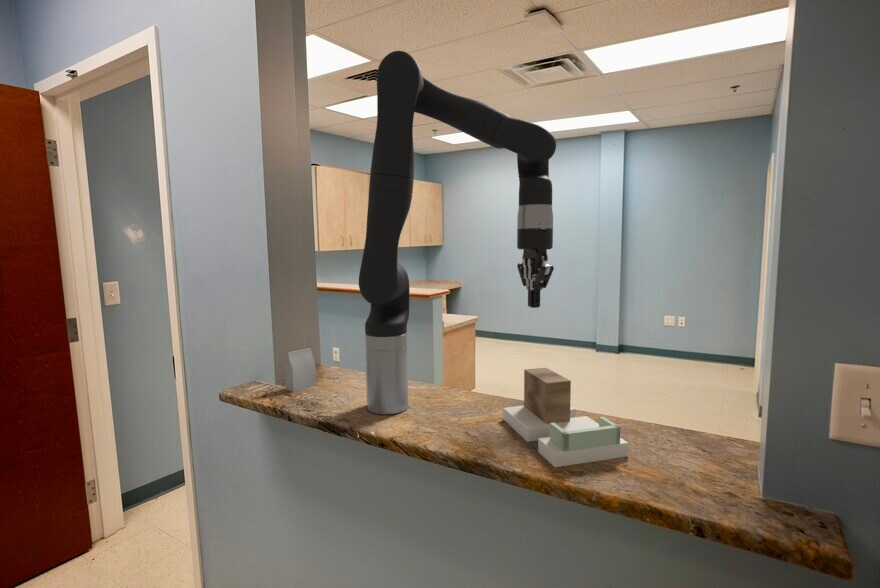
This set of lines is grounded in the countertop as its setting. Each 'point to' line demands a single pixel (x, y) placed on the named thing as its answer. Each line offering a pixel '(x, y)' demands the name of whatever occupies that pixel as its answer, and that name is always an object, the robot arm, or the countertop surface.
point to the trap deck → (568, 437)
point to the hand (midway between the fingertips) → (533, 307)
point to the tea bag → (300, 370)
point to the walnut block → (547, 395)
